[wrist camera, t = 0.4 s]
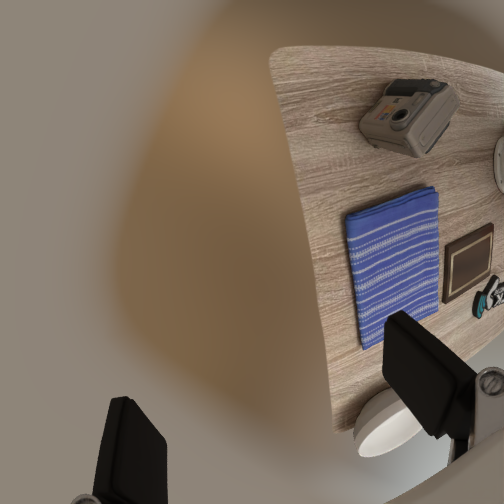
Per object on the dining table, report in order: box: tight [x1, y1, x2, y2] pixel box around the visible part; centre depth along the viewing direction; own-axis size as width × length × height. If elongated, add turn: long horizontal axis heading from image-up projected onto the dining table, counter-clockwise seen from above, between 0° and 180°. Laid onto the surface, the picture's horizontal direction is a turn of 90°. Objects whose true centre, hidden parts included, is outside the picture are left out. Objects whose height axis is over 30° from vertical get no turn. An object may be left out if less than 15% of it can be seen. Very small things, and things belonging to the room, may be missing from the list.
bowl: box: [353, 388, 423, 457], centre depth 48 cm, size 19×19×9 cm
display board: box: [442, 223, 494, 304], centre depth 44 cm, size 12×16×1 cm
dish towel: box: [345, 186, 439, 350], centre depth 40 cm, size 17×24×3 cm
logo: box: [472, 275, 504, 319], centre depth 50 cm, size 25×2×10 cm
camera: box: [359, 79, 460, 158], centre depth 28 cm, size 11×6×10 cm, turn 137°
